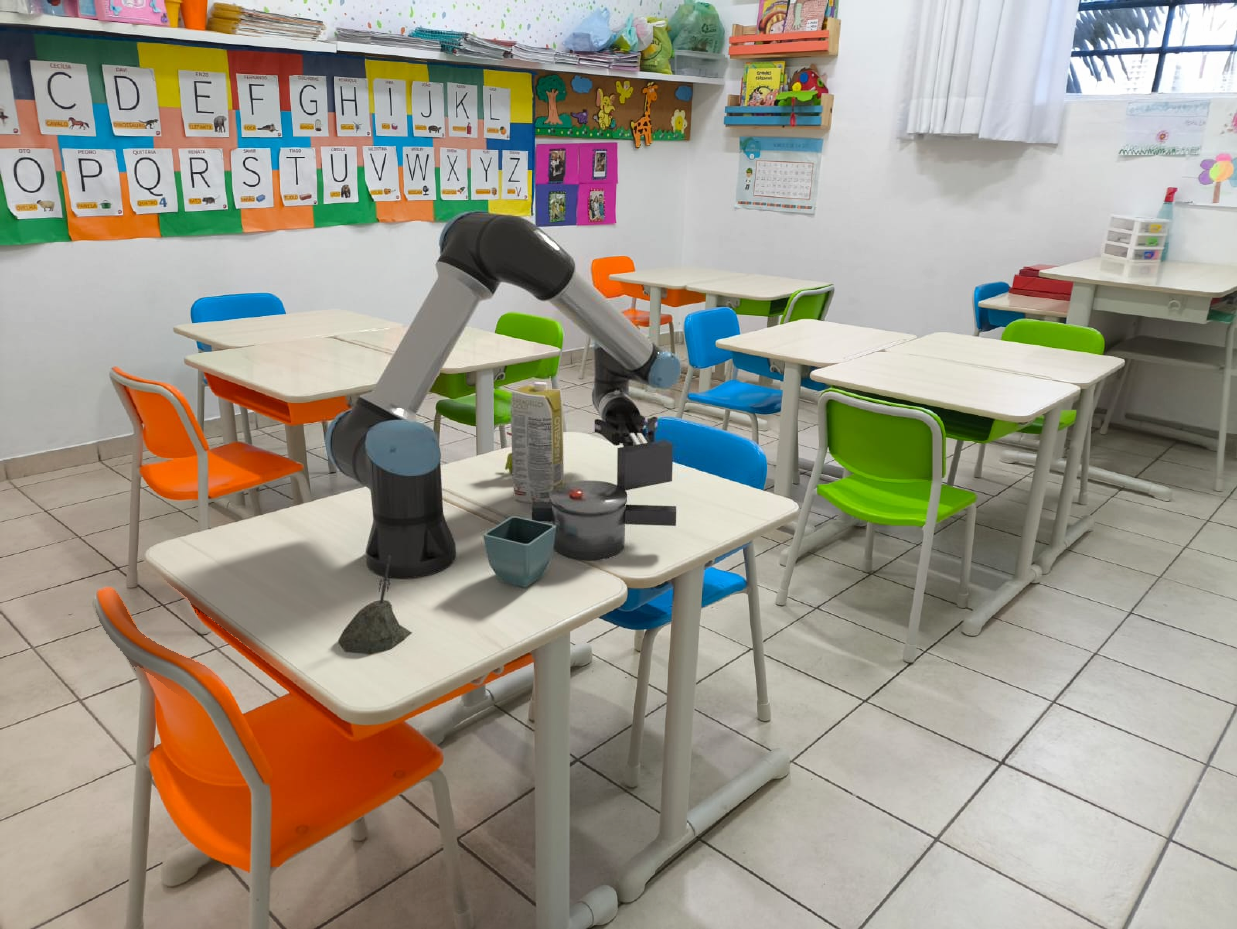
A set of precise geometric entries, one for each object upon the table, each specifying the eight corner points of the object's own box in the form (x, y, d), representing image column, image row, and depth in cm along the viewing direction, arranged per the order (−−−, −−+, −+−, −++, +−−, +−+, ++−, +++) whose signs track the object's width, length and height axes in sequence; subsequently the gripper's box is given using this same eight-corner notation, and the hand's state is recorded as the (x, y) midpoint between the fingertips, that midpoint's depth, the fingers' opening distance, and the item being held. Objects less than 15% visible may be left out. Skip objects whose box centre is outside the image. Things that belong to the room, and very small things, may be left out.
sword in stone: (360, 664, 121) (351, 585, 117) (330, 645, 126) (320, 569, 122) (421, 636, 128) (413, 561, 124) (390, 619, 133) (382, 547, 129)
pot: (528, 558, 152) (526, 513, 149) (538, 528, 164) (537, 486, 161) (675, 564, 150) (676, 518, 147) (674, 532, 163) (676, 490, 160)
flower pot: (483, 584, 143) (481, 533, 140) (514, 563, 150) (512, 514, 147) (528, 596, 139) (527, 545, 136) (557, 574, 146) (557, 525, 143)
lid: (571, 520, 145) (570, 474, 143) (537, 493, 157) (536, 450, 154) (688, 496, 156) (689, 452, 153) (648, 472, 167) (649, 431, 165)
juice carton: (568, 496, 179) (567, 382, 170) (547, 509, 172) (545, 391, 164) (530, 488, 183) (527, 376, 175) (508, 500, 176) (504, 385, 168)
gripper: (586, 397, 178) (605, 433, 157) (652, 394, 181) (679, 429, 159) (586, 432, 181) (605, 472, 159) (651, 429, 183) (678, 468, 162)
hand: (642, 451), depth 159 cm, fingers closed
